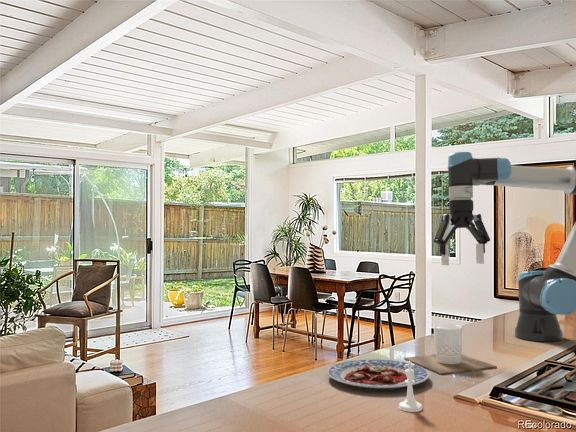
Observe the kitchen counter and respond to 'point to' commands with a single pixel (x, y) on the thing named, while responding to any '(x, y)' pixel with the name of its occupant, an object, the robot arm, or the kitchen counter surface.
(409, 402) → the chess piece
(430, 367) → the plate
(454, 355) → the white cup
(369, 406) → the kitchen counter surface
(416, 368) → the ceramic plate
